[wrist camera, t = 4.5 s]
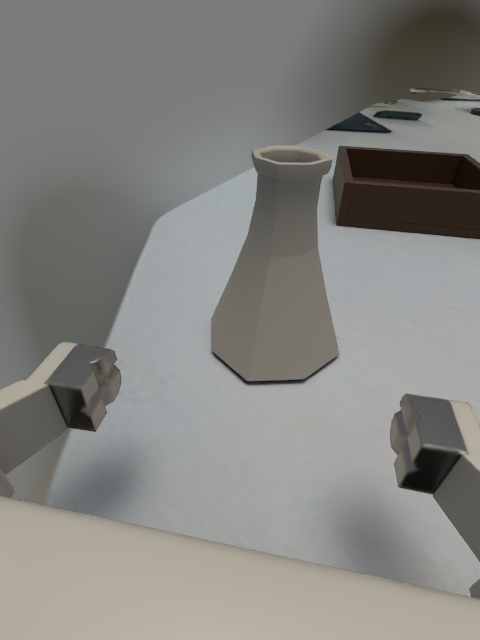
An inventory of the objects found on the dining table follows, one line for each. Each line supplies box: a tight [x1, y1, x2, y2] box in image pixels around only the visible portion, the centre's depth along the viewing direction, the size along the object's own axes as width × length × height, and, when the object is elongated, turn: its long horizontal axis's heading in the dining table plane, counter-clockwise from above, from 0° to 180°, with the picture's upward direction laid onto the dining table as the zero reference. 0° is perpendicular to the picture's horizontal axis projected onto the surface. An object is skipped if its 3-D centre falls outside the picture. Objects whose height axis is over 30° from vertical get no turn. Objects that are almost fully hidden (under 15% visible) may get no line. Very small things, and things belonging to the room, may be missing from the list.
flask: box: [212, 146, 339, 381], centre depth 18 cm, size 7×7×10 cm
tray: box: [333, 146, 480, 238], centre depth 38 cm, size 15×15×4 cm
